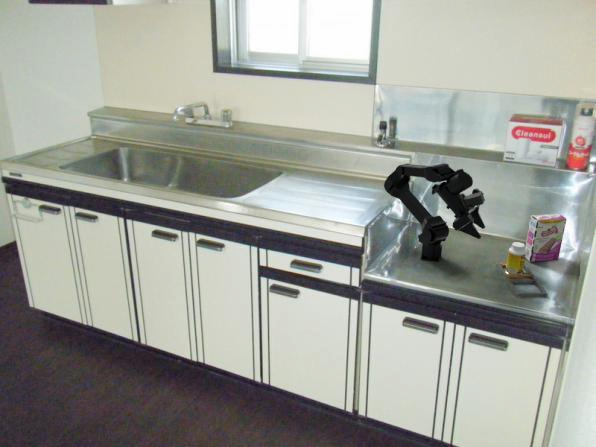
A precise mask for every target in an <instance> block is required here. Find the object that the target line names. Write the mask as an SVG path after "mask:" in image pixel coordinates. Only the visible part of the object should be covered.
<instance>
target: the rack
mask: <svg viewBox="0 0 596 447" xmlns="http://www.w3.org/2000/svg"><path fill="white" fill-rule="evenodd" d="M495 263H496V264H495V266H496V268H497V269H498V270H499V272H500V275H502V276H501V277H503V279H504V280H505V282H506V283H507V285H508V286H509V288H510V289H511V292H512V293H513V294H514V296H515V298H519V297H521V298H522V297H526V298H527V297H528V298H533V297H535V298H537V297H538V298H539V297H540V298H548V293H547V291H546V290H545V289H544V287H543V286H542V284H541V283H540V282H539V280H538V279H537V278H536V276H535V275H534V273H533V272H532V271H531V270H530V268H529V267H528V266H527V264H526V263H525V262H524V267H523V272H522V273H521V274H519V275H514V274H510V273H508V272H507V271H506V264H507V262H497V261H496V262H495ZM504 267H505V269H504ZM525 272H526V274H525ZM514 284H523V285H524V284H526V285H527V284H529V285H530V284H531V285H532V284H533V285H535V286H536V288H537V290H539V292H535V291H533V292H531V291H530V292H529V291H528V292H527V291H526V292H525V291H524V292H523V291H521V292H520V291H518V289H516V287H515V285H514Z"/></svg>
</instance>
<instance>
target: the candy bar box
mask: <svg viewBox="0 0 596 447" xmlns="http://www.w3.org/2000/svg"><path fill="white" fill-rule="evenodd" d="M529 217H530V218H529V223H528V229H527V235H526V240H525V241H526V242H525V244H524V245H525V249H524V250H525V251H526V256H525V261H527V262H528V263H542V262H551V261H553V262H554V261H559V257H560V252H561V247H562V243H563V238H564V233H565V229H566V225H567V218H566V217H565V216H564V215H561V213H552V214H551V213H549V214H548V213H547V214H537V215H535V214H532V215H530V216H529Z"/></svg>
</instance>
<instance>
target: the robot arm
mask: <svg viewBox="0 0 596 447" xmlns="http://www.w3.org/2000/svg"><path fill="white" fill-rule="evenodd" d="M411 177H415V178H424V179H425V180H426V181H428V182H430V183H435V184H434V185H432V186H431V195H435V194H437V195H438V196H439V198H440V199H441V200H442V201H443V202H444V203H445V205H446V209H447V210H450V211H451V212H452V213H453V214H454V216H453V217H454V220H453V222H452V229H453V230H455V232H457V231H458V232H461V233H465V234H467V235H469V236H471V237H473V238H475V239H478V240H480V239H482V235H481V233H480V232H479V231H478V228H476V226H477V227H479V228H480V229H482V230H484V229H486V224H485V222H484V220H483V219H482V217H481V214H480V207H481V206H483V205H484V204H485V201H486V198H485V196H484V195H485V194H484V192H483V191H482V190H480V189H479V188H478V187H477V188H476V187H475V188H473V189H472V191H471V193H469V194H468V195H466V194H465V193H463V192H464V191H466V190H468V189H469V188H471V187H472V186H473V183H474V180H473V177H472V176H471V175H470V174H469V173H468V172H466V171H465V170H464V169H463V168H460V169H457V170H455V169H453V168H452V167H450V165H449V164H448V163H446V162H445V163H438V164H434V165H424V164H423V165H422V164H411V163H403V164H399V165H397V167H396V168H395V170H394V171H392V172H391V173H390V174H389V175H388V176H387V178H386V179H385V180H384V183H383V188H384V190H385V192H386V193H387V194H389V196H391V197H392V198H396V199H397V200H400V202H401V203H402V205H404V206H405V208H406V209H407V211H409V213H410V214H412V216H413V218H414V219H416V220H417V222H418V223H419V224H420V226H421V232H420V234H418V235H417V240H418V242H419V243H420V244H421V245H422V246H421V255H420V260H423V261H424V260H425V261H432V262H440V261H441V260H440V259H441V258H442V252H443V244H442V242H445V241H446V240H447V238H448V237H449V233H450V227H449V226H448V224H447V221H446V220H444V219H443V218H442V216H441V215H436V216H435V215H434V216H433V215H432V214H431V213H430V212H429V210H428V209H427V208H426V207H425V206H424V205H423V204H422V203H421V201H419V199H418V198H417V197H416V196H415V195H414V193H413V192H412V191H411V188H410V181H411ZM436 183H439V184H436ZM475 225H476V226H475Z"/></svg>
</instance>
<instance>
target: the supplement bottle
mask: <svg viewBox="0 0 596 447" xmlns="http://www.w3.org/2000/svg"><path fill="white" fill-rule="evenodd" d="M525 245H526V244H524V243H522V242H519V241H518V242H517V241H514V242H512V245H511V246H510V248H509V249H508V253H507V259H506V263H507V264H506V267H505V269H506V271H507V272H508V273H510V274H514V275H519V274H521V273H522V272H523V271H524V268H523V267H524V263H525V261H526V259H525V256H526V251H525Z"/></svg>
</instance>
